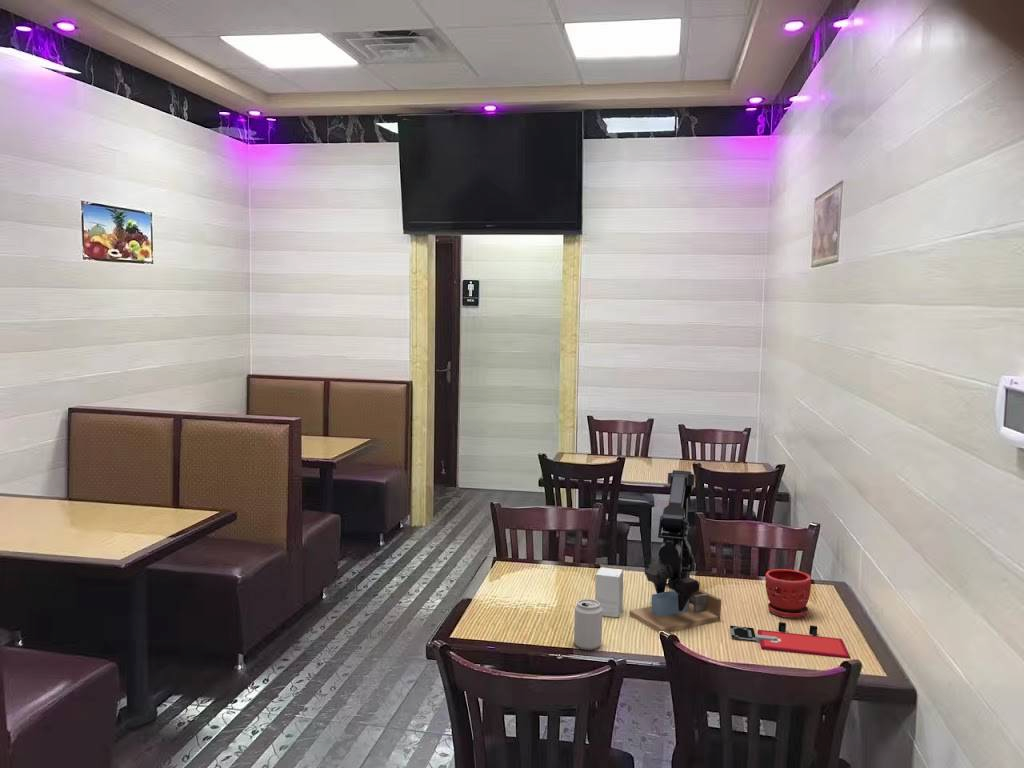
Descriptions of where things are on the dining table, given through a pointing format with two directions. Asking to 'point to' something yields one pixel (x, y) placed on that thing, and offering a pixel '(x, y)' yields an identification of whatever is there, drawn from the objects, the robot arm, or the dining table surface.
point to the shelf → (683, 614)
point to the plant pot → (788, 592)
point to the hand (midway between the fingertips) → (670, 605)
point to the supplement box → (609, 591)
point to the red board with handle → (793, 641)
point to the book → (666, 604)
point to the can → (588, 624)
